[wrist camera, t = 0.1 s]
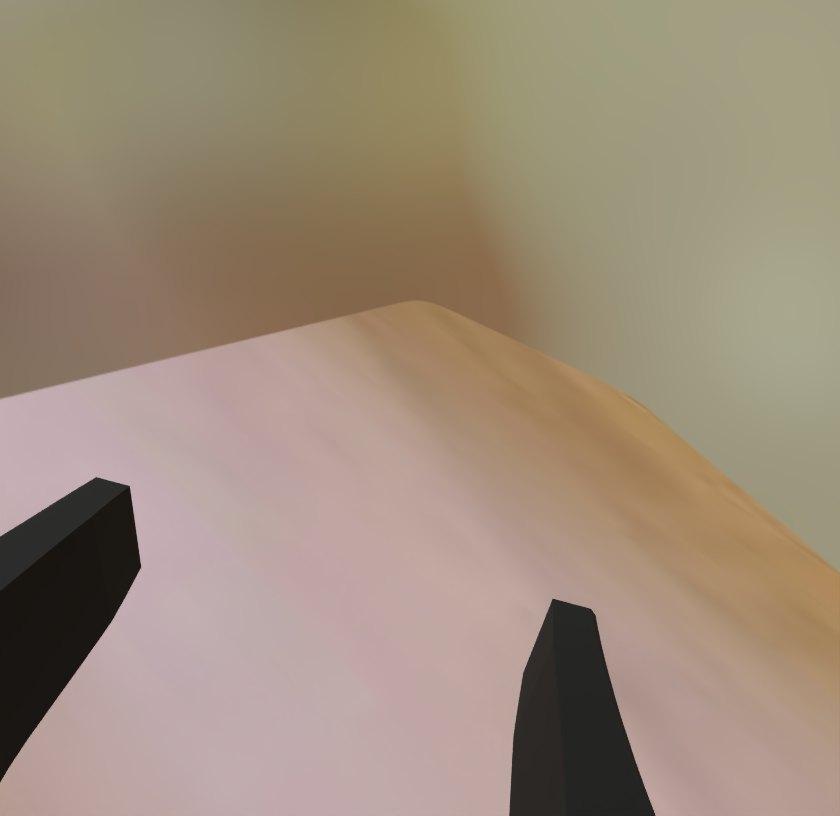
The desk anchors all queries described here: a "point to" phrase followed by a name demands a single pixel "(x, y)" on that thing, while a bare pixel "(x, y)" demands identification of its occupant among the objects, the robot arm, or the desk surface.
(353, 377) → the desk surface
